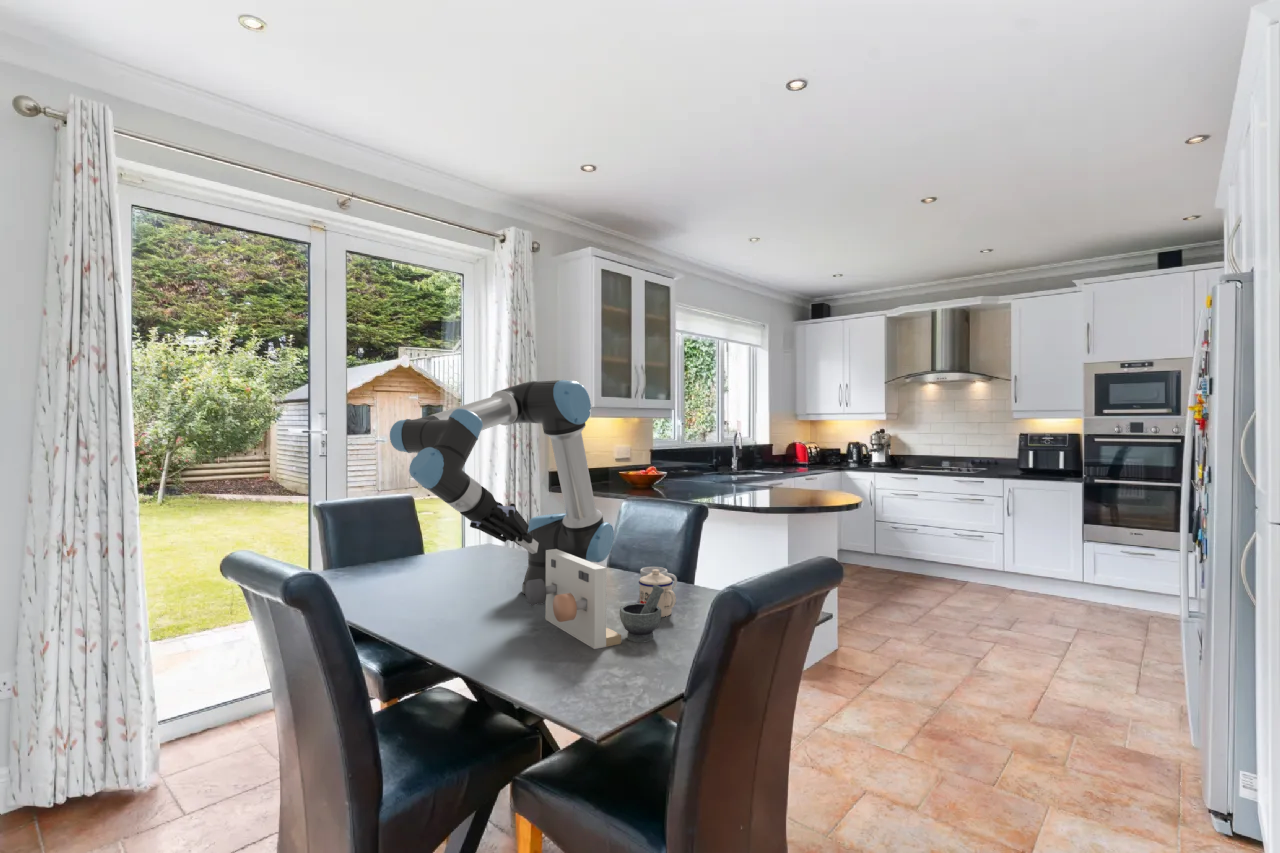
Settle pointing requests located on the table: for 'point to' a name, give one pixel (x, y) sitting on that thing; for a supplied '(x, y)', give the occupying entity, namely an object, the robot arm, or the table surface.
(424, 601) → the table surface
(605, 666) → the table surface
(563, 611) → the terracotta button
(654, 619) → the mortar and pestle
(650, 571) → the cup
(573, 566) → the button panel
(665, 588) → the teacup with lid
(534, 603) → the charcoal button
